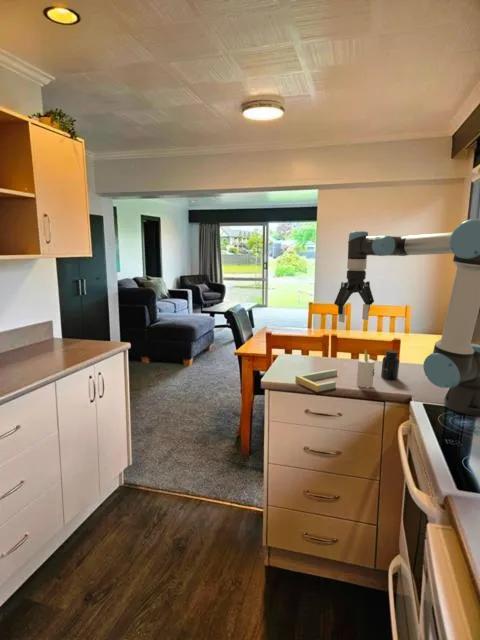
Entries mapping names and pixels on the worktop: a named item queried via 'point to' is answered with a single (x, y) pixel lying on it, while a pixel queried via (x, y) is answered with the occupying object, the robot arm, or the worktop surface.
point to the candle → (365, 372)
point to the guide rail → (316, 387)
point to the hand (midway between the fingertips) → (353, 320)
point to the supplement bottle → (390, 365)
